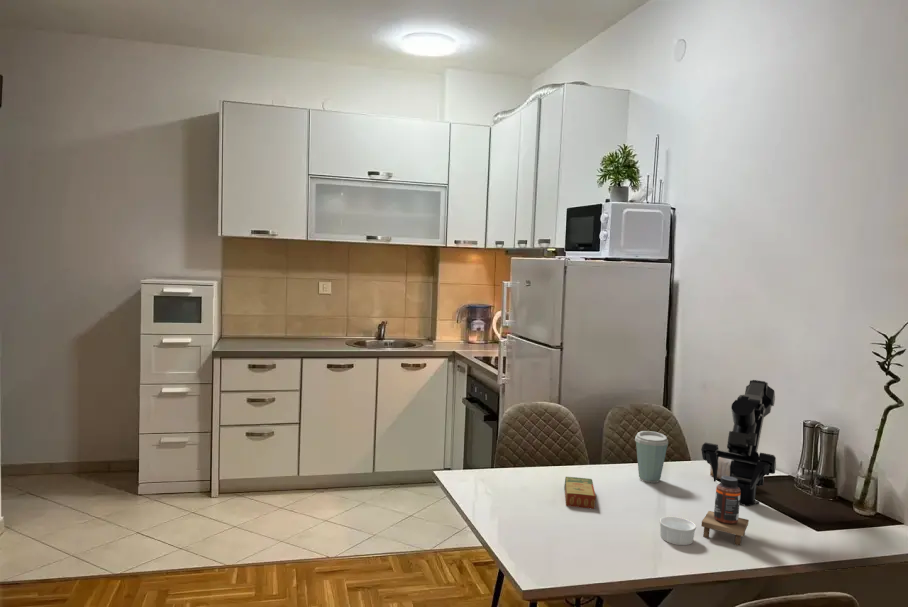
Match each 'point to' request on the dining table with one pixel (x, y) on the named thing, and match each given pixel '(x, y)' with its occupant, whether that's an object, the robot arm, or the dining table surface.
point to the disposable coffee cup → (650, 455)
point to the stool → (725, 527)
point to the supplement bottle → (727, 500)
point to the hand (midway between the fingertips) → (732, 484)
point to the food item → (722, 467)
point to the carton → (579, 492)
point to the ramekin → (677, 530)
